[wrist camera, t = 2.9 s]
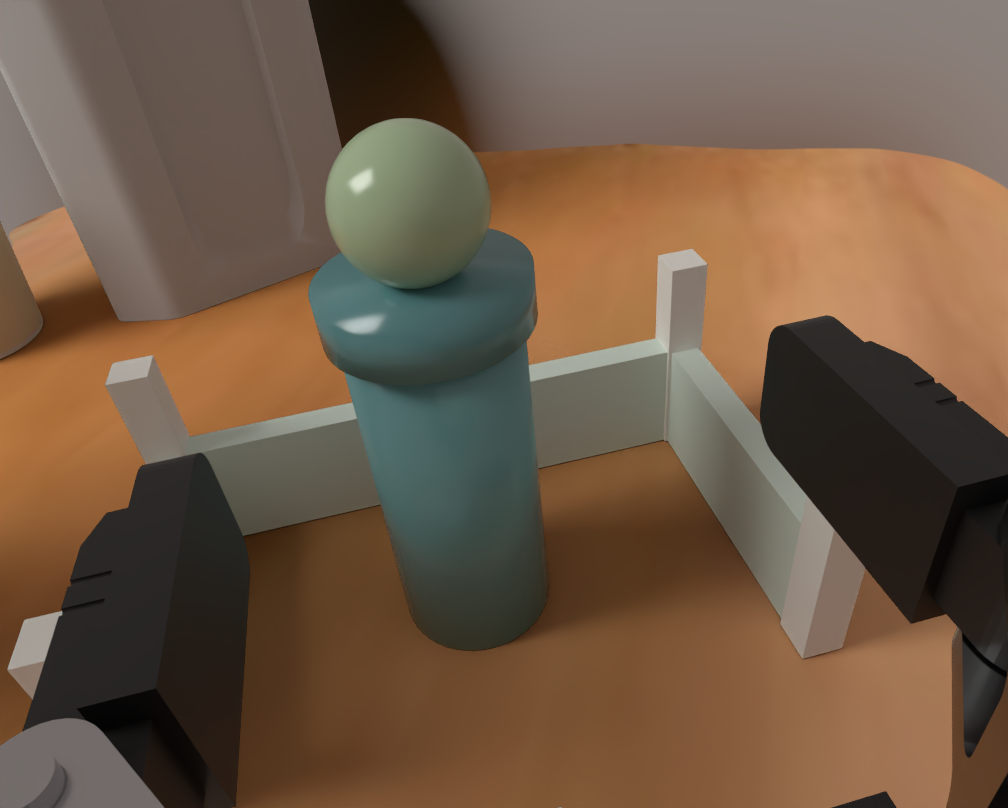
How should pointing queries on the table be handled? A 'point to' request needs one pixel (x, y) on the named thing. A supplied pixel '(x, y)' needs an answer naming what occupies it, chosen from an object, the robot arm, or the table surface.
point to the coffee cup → (15, 303)
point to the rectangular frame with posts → (538, 460)
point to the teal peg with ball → (438, 376)
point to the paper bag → (179, 141)
